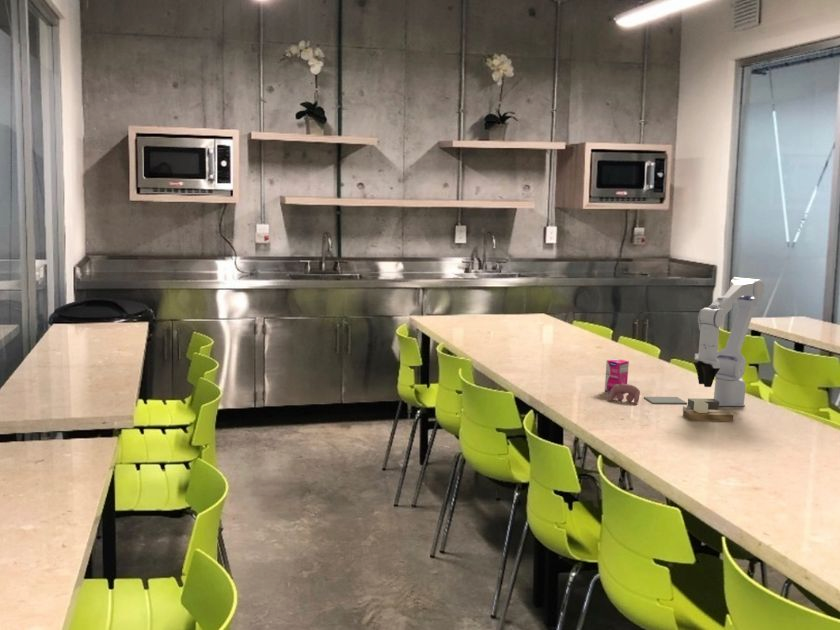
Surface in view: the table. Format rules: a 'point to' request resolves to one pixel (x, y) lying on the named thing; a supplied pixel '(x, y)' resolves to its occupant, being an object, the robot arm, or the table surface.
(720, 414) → the switch block
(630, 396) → the mauve arch
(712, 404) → the bar
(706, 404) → the switch tab
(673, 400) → the mat
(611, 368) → the supplement box
